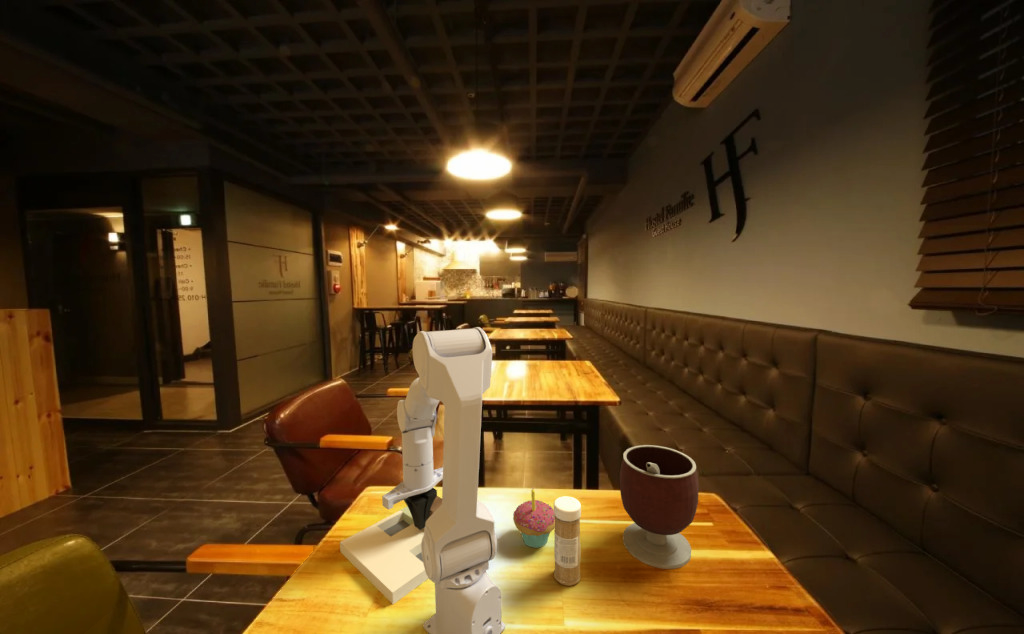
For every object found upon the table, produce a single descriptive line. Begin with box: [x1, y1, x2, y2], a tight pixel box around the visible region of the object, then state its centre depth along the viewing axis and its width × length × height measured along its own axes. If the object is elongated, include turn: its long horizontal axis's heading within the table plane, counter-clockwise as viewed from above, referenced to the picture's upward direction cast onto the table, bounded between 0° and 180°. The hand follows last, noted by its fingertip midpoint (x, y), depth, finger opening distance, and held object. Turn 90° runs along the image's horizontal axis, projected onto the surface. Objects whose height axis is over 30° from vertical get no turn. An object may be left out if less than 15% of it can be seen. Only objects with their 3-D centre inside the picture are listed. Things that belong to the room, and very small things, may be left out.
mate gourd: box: [619, 444, 700, 570], centre depth 71 cm, size 16×14×20 cm
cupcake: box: [512, 486, 555, 549], centre depth 74 cm, size 9×8×12 cm
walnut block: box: [428, 495, 442, 518], centre depth 77 cm, size 4×4×4 cm
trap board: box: [339, 505, 429, 605], centre depth 73 cm, size 18×20×4 cm
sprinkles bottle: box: [553, 495, 582, 587], centre depth 64 cm, size 5×5×14 cm
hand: (420, 526), depth 74 cm, fingers closed
